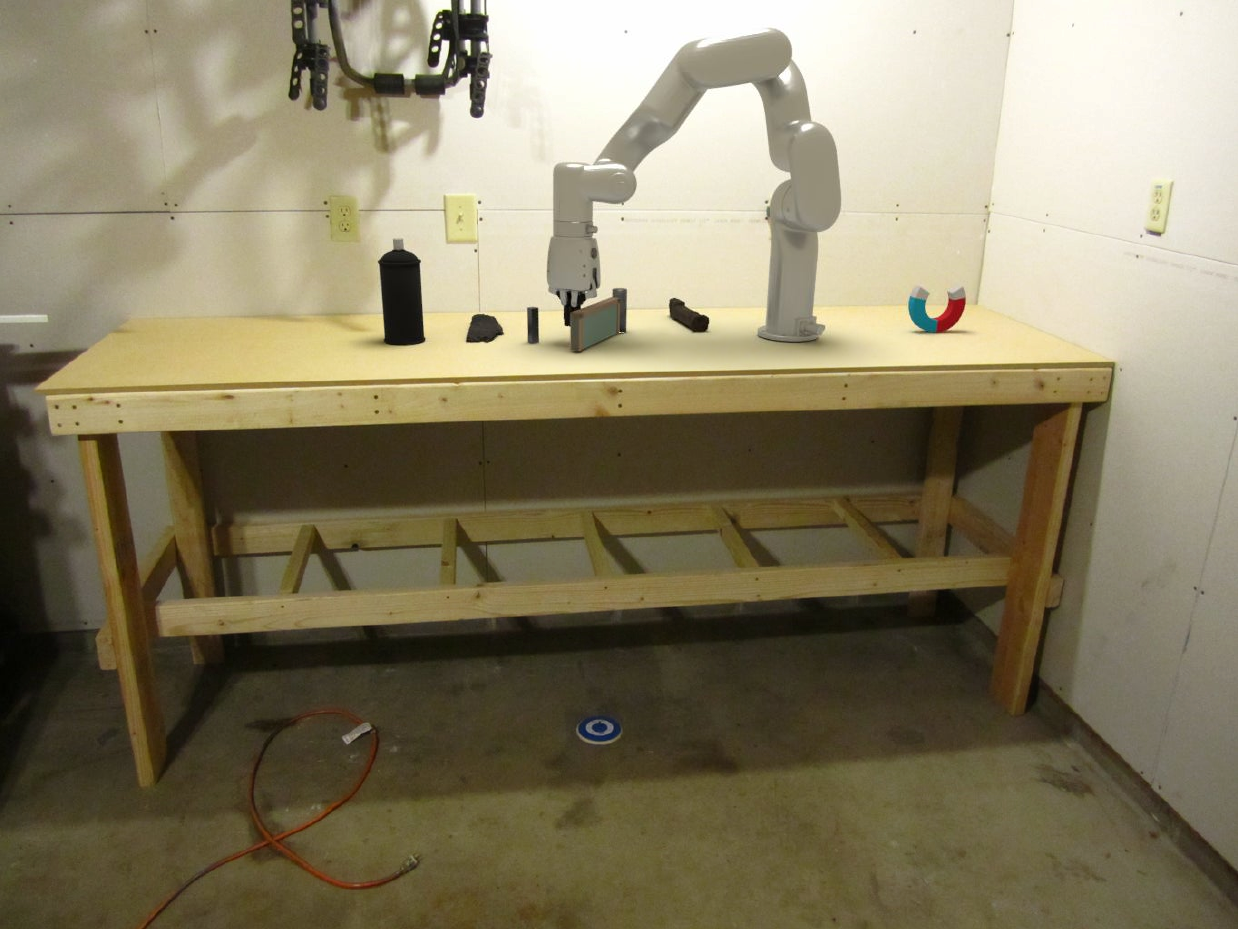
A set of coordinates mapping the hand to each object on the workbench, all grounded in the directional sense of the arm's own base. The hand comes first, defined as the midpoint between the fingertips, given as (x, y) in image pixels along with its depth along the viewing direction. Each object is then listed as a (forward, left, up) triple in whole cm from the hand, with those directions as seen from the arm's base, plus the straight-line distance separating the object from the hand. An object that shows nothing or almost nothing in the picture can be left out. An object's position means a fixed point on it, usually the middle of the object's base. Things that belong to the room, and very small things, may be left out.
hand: (572, 325), depth 185 cm
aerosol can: (+22, +25, -4) cm, 34 cm away
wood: (+21, +7, -5) cm, 22 cm away
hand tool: (+2, -32, -4) cm, 32 cm away
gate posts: (+4, -5, -4) cm, 8 cm away
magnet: (-37, -70, -4) cm, 79 cm away
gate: (-2, -5, -4) cm, 6 cm away
